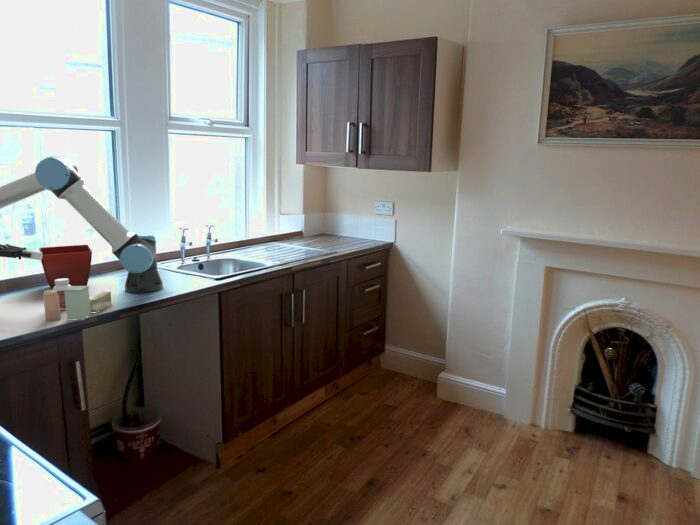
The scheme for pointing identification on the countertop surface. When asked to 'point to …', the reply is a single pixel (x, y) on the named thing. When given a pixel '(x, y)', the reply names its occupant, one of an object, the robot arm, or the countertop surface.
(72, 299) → the tea tin
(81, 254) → the plant pot
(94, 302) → the block
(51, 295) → the spice jar
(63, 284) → the pill bottle
